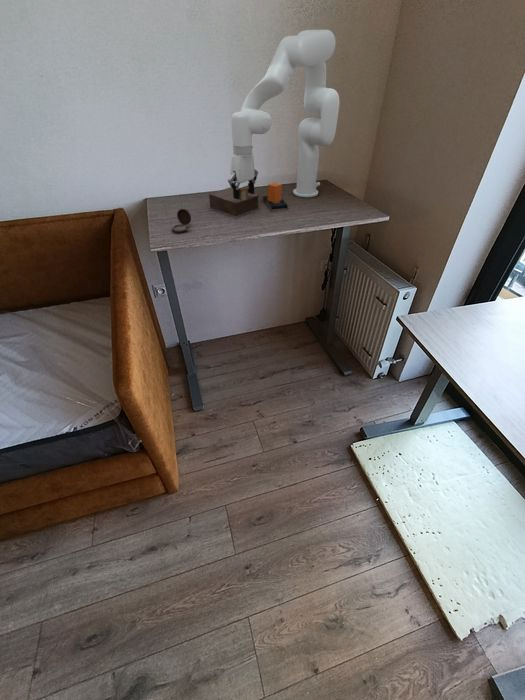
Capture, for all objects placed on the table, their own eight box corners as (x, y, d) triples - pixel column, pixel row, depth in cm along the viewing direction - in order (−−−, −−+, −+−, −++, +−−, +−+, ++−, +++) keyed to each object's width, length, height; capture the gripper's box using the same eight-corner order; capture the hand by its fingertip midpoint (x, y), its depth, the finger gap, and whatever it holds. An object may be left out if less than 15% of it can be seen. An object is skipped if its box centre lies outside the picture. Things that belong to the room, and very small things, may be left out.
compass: (169, 232, 133) (165, 213, 128) (180, 224, 139) (177, 206, 134) (186, 235, 131) (183, 216, 126) (197, 228, 136) (194, 209, 131)
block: (273, 198, 157) (274, 182, 153) (281, 200, 155) (281, 184, 150) (267, 200, 155) (267, 184, 150) (275, 202, 153) (275, 186, 148)
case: (258, 209, 152) (257, 196, 148) (235, 218, 144) (234, 204, 141) (233, 200, 160) (232, 188, 157) (210, 208, 152) (209, 195, 149)
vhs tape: (271, 211, 151) (271, 206, 149) (263, 200, 161) (263, 196, 160) (287, 209, 152) (287, 204, 151) (277, 199, 162) (277, 194, 161)
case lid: (258, 196, 148) (258, 184, 145) (235, 204, 140) (235, 192, 137) (232, 188, 157) (231, 176, 153) (209, 195, 149) (207, 183, 145)
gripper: (250, 145, 139) (251, 189, 151) (220, 152, 130) (223, 199, 142) (264, 148, 136) (263, 193, 147) (233, 155, 126) (235, 203, 138)
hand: (244, 195), depth 144 cm, fingers open, 8 cm apart
